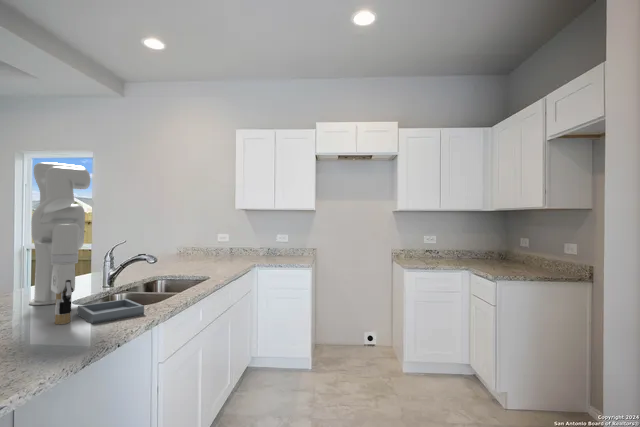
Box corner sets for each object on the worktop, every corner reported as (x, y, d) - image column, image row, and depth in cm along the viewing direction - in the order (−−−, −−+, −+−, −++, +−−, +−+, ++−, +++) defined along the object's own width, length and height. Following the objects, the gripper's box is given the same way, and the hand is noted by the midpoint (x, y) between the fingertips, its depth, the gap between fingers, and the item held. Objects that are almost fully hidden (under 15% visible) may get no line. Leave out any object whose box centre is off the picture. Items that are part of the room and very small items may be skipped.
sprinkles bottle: (59, 321, 121) (61, 282, 121) (73, 320, 121) (75, 282, 121) (51, 324, 116) (52, 285, 116) (65, 324, 116) (66, 285, 117)
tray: (77, 314, 129) (77, 306, 129) (126, 306, 142) (126, 298, 142) (92, 323, 118) (92, 314, 118) (143, 314, 131) (144, 305, 131)
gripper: (45, 258, 122) (43, 309, 121) (58, 262, 111) (56, 319, 110) (70, 256, 127) (69, 306, 127) (85, 260, 117) (83, 314, 116)
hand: (63, 311), depth 119 cm, fingers closed on sprinkles bottle, 4 cm apart
